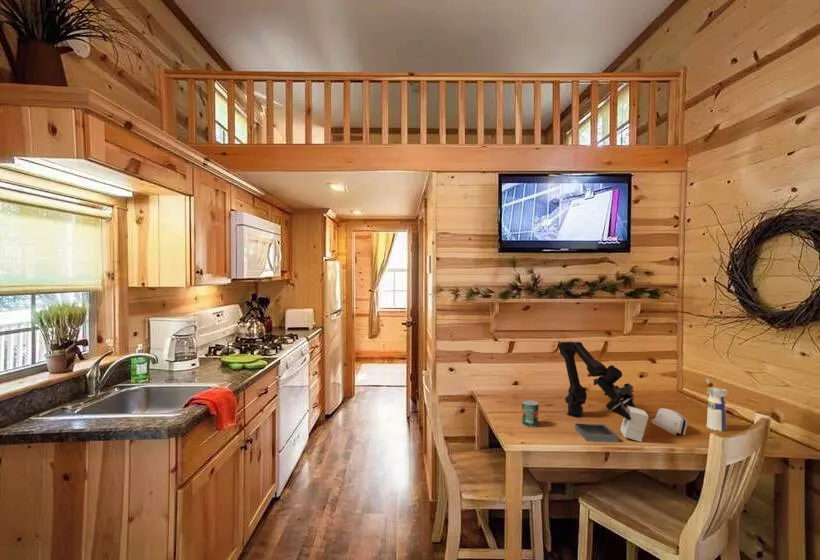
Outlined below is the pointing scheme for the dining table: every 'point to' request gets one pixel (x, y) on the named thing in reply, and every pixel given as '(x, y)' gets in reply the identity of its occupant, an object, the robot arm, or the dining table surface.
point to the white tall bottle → (716, 408)
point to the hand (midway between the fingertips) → (634, 417)
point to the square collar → (596, 432)
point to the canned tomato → (530, 413)
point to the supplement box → (634, 423)
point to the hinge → (670, 421)
